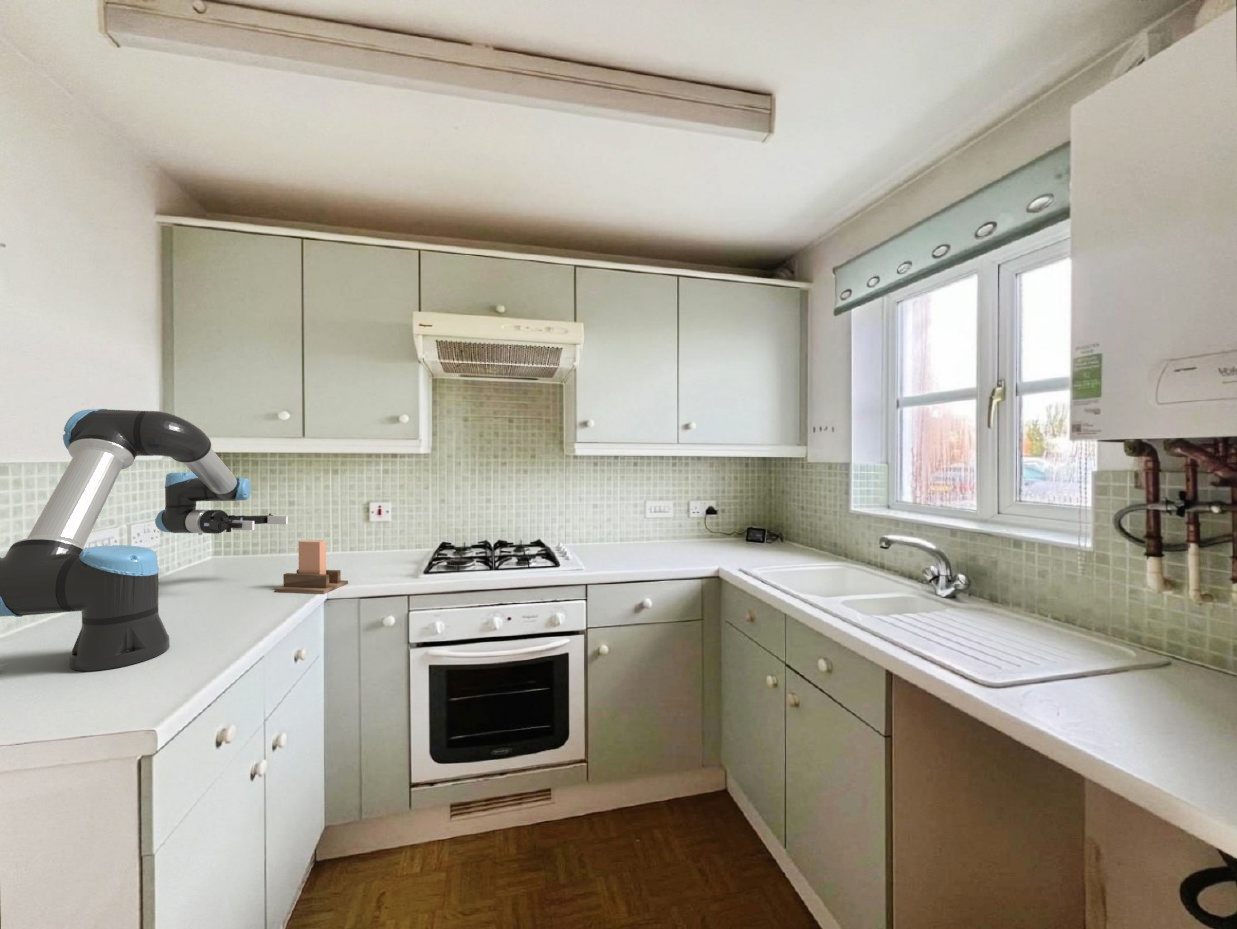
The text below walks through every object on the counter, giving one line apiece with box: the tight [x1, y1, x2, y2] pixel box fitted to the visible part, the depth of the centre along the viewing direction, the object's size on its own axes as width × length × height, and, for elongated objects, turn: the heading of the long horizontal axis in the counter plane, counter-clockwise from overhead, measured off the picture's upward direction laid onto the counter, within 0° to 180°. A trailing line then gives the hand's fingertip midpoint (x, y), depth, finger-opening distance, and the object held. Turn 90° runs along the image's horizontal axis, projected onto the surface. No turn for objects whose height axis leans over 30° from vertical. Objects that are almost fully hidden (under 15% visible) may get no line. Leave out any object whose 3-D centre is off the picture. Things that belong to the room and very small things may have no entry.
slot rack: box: [274, 568, 349, 595], centre depth 160 cm, size 12×16×5 cm
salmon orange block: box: [298, 539, 327, 574], centre depth 160 cm, size 3×7×14 cm, turn 85°
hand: (271, 522), depth 158 cm, fingers open, 13 cm apart
